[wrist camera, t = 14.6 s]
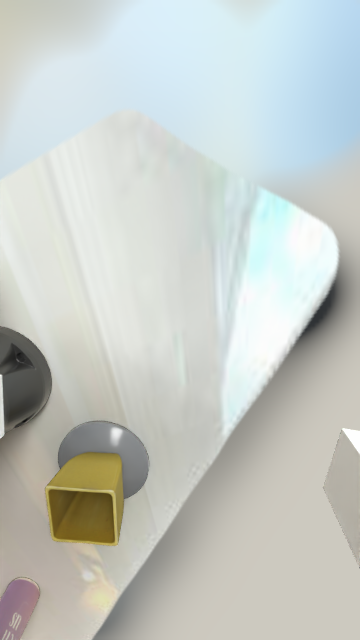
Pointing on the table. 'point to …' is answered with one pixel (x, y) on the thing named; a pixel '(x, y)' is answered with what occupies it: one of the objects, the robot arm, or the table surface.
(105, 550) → the table surface
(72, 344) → the table surface
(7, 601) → the beverage can
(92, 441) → the disc
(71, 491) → the flower pot
